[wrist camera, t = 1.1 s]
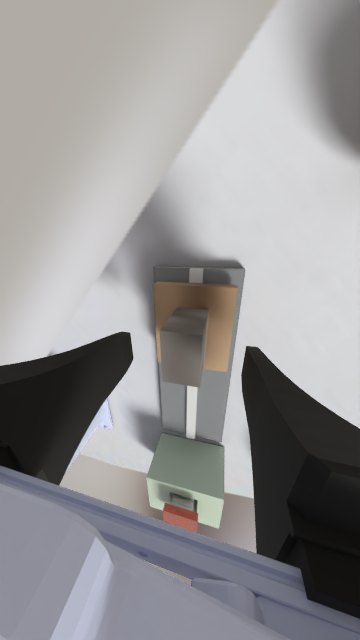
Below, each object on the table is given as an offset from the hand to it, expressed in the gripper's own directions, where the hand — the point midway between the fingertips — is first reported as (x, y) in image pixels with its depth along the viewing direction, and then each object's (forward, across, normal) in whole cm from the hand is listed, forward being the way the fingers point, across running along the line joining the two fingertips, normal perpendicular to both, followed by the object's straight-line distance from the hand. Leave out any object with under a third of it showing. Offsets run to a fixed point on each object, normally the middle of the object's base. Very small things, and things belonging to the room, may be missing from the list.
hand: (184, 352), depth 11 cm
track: (+6, 0, +5) cm, 8 cm away
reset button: (+1, 0, +20) cm, 20 cm away
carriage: (+4, 0, 0) cm, 4 cm away
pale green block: (+6, 0, +20) cm, 20 cm away
